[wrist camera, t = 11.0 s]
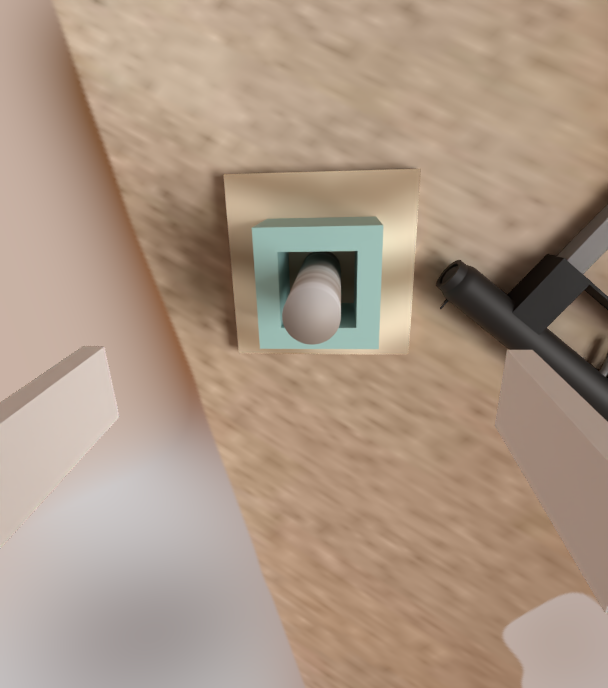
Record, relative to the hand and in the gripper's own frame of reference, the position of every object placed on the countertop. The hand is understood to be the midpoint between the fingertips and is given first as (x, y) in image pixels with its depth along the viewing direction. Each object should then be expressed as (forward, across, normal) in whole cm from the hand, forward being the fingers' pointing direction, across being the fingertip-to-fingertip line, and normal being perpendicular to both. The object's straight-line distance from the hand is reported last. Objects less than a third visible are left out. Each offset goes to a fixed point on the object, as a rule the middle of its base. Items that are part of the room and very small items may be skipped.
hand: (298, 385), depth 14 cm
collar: (+20, 0, -1) cm, 20 cm away
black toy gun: (+22, +20, -3) cm, 30 cm away
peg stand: (+21, 0, -1) cm, 21 cm away
